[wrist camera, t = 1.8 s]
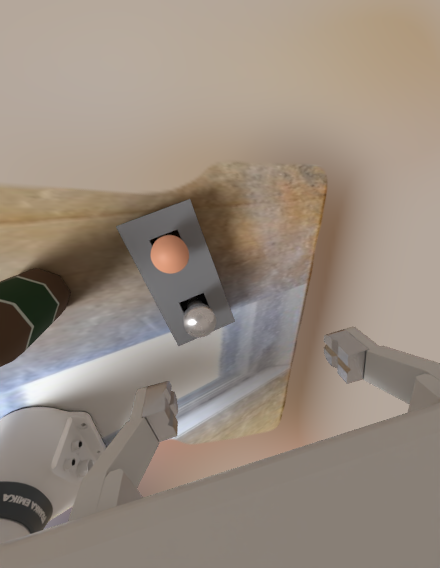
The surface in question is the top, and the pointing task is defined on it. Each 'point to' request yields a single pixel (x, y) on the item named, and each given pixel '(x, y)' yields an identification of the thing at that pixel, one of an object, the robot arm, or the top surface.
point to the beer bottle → (28, 309)
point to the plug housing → (185, 282)
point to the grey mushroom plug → (198, 318)
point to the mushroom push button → (169, 254)
